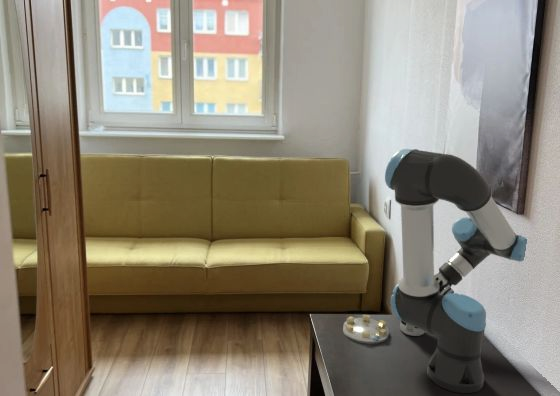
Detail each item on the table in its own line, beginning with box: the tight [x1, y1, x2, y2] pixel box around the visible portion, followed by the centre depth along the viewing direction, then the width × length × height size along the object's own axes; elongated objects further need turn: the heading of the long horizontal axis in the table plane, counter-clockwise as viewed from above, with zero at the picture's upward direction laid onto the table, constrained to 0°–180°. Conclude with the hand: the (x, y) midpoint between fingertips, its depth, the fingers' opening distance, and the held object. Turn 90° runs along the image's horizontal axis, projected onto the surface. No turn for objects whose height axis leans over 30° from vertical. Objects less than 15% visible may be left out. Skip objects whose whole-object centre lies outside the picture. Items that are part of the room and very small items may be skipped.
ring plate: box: [342, 314, 390, 345], centre depth 161 cm, size 15×15×3 cm
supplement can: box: [399, 320, 426, 337], centre depth 162 cm, size 8×8×15 cm
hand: (404, 315), depth 162 cm, fingers closed on supplement can, 8 cm apart
